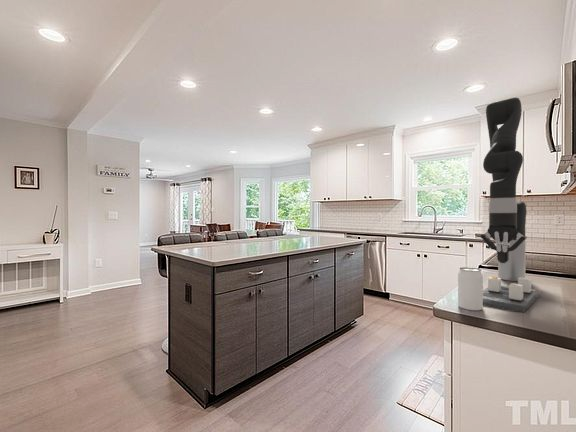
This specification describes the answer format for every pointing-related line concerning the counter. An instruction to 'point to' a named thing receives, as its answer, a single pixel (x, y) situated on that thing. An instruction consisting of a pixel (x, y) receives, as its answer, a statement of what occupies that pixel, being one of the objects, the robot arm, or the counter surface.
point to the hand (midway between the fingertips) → (502, 262)
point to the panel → (505, 302)
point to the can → (470, 289)
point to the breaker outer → (515, 291)
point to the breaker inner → (525, 284)
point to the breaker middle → (494, 284)
